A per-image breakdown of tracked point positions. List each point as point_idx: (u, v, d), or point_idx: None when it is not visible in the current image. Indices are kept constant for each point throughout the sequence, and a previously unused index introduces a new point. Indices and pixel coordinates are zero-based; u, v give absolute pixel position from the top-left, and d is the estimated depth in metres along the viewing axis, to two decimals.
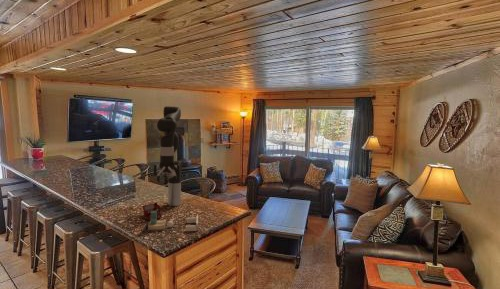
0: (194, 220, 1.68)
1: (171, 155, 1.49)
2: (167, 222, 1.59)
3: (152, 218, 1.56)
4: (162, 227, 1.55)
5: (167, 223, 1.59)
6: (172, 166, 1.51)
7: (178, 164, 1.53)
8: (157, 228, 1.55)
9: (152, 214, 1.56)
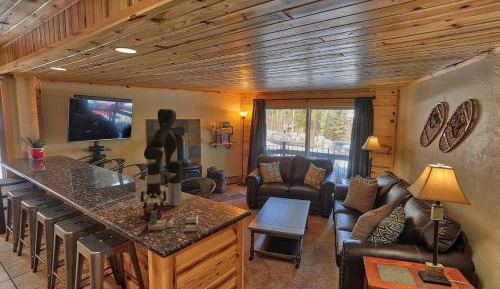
0: (194, 220, 1.68)
1: (157, 182, 1.53)
2: (167, 222, 1.59)
3: (152, 218, 1.56)
4: (162, 227, 1.55)
5: (167, 223, 1.59)
6: (158, 193, 1.56)
7: (164, 191, 1.57)
8: (157, 228, 1.55)
9: (152, 214, 1.56)
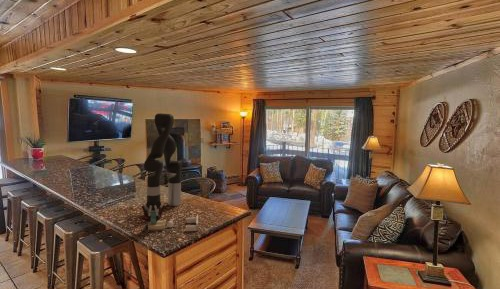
0: (194, 220, 1.68)
1: (157, 194, 1.54)
2: (167, 222, 1.59)
3: (152, 218, 1.56)
4: (162, 227, 1.55)
5: (167, 223, 1.59)
6: (158, 204, 1.56)
7: (164, 205, 1.58)
8: (157, 228, 1.55)
9: (152, 214, 1.56)
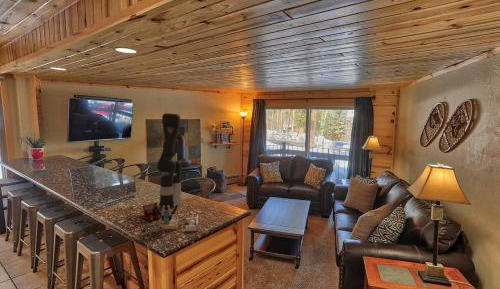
0: (194, 220, 1.68)
1: (170, 194, 1.56)
2: (189, 221, 1.62)
3: (165, 218, 1.58)
4: (175, 227, 1.57)
5: (189, 222, 1.61)
6: (171, 204, 1.58)
7: (177, 204, 1.59)
8: (170, 228, 1.56)
9: (165, 214, 1.57)
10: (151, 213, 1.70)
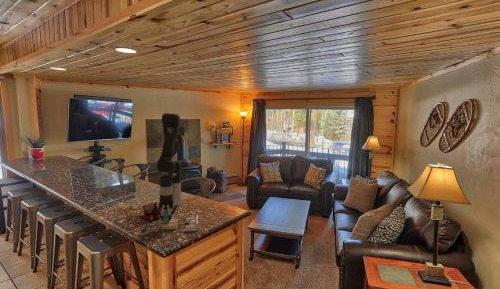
0: None
1: (170, 194, 1.55)
2: (190, 221, 1.62)
3: (165, 218, 1.58)
4: (175, 227, 1.57)
5: (190, 222, 1.61)
6: (171, 204, 1.58)
7: (177, 204, 1.59)
8: (170, 228, 1.56)
9: (165, 214, 1.57)
10: (151, 213, 1.70)
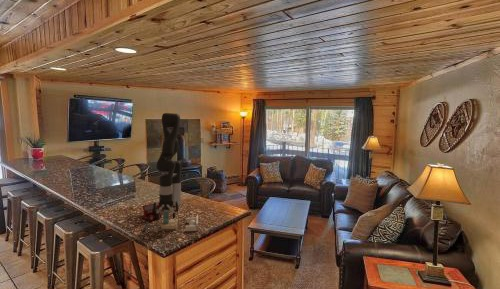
0: None
1: (170, 194, 1.55)
2: (190, 221, 1.62)
3: (165, 218, 1.58)
4: (175, 227, 1.57)
5: (190, 222, 1.61)
6: (171, 204, 1.58)
7: (176, 201, 1.59)
8: (170, 228, 1.56)
9: (165, 214, 1.57)
10: (151, 213, 1.70)
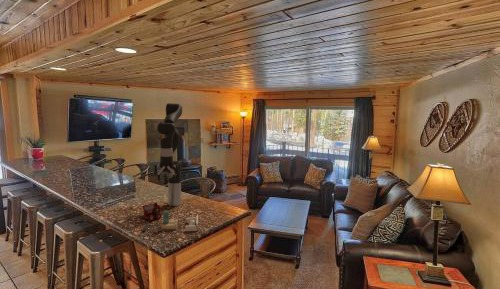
0: (194, 220, 1.68)
1: (170, 156, 1.62)
2: (189, 221, 1.62)
3: (165, 218, 1.58)
4: (175, 227, 1.57)
5: (189, 222, 1.61)
6: (171, 166, 1.65)
7: (177, 164, 1.66)
8: (170, 228, 1.56)
9: (165, 214, 1.57)
10: (151, 213, 1.70)
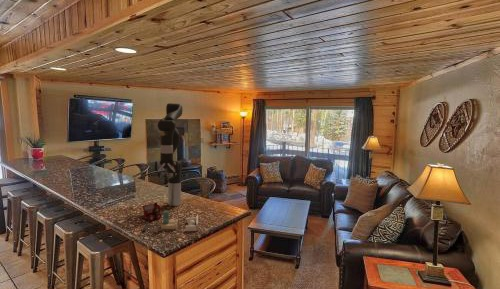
0: (194, 220, 1.68)
1: (170, 153, 1.63)
2: (188, 222, 1.61)
3: (165, 218, 1.58)
4: (175, 227, 1.57)
5: (189, 222, 1.61)
6: (171, 163, 1.66)
7: (177, 161, 1.67)
8: (170, 228, 1.56)
9: (165, 214, 1.57)
10: (151, 213, 1.70)
